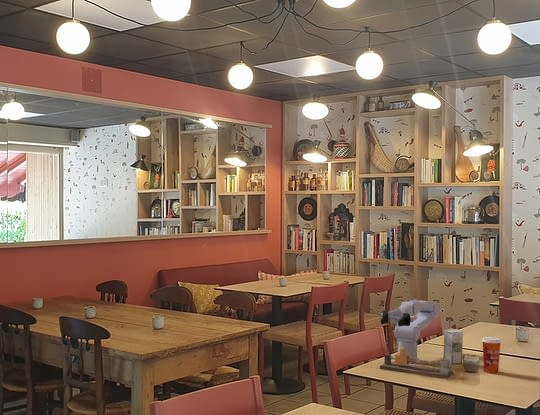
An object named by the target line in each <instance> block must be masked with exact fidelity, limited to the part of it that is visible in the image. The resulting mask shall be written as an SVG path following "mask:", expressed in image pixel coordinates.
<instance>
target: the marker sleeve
mask: <svg viewBox="0 0 540 415" xmlns="http://www.w3.org/2000/svg"><path fill="white" fill-rule="evenodd" d="M394 356H395V360H394V362H395V364H401V365H408V364H410V365H411V363H410V362H408V361H407V358H410V354H405V348H401V349H400V353H395V355H394Z"/></svg>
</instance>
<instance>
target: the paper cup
mask: <svg viewBox="0 0 540 415" xmlns="http://www.w3.org/2000/svg"><path fill="white" fill-rule="evenodd" d="M481 342H482V358H483V360H482V361H483V372H484V373H487V374H498V373H499V367H500V366H499V364H500V354H501V343H502V341H501V339H500V337H495V336H483V338H482V339H481Z"/></svg>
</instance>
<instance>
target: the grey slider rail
mask: <svg viewBox="0 0 540 415" xmlns="http://www.w3.org/2000/svg"><path fill="white" fill-rule="evenodd" d="M392 360H394V361H392ZM407 361H408V362H413V363H417V364H423V365H430V366H433V367H429V366H422V365H416V364H411V363H410V364H408V365H401V364H395V355H392V354H391V353H386V354H384V362H383V364H381V365H379V369H380V370H387V371H392V372H393V371H394V372H399V373H405V374H413V375H420V376H426V377H431V378H432V377H433V378H438V379H445V380H446V379H448V378H449V377H451V376H452V375H454V370H452V369H451V364H450V360H446V359H444V358H443V359H441V360H439V361H435V360H431V361H430V360H424V359H419V360H418V359H411V358H407ZM435 366H437V367H439V368H435Z"/></svg>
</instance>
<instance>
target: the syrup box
mask: <svg viewBox="0 0 540 415" xmlns="http://www.w3.org/2000/svg"><path fill="white" fill-rule="evenodd" d="M443 335H444V338H443V339H444V340H443V359H446V360H450V365H461V364H463V341H464V339H463V338H464V331H463V330H460V329H458V328H452V329H451V328H449V329H446V328H445V329H444V334H443Z"/></svg>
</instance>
